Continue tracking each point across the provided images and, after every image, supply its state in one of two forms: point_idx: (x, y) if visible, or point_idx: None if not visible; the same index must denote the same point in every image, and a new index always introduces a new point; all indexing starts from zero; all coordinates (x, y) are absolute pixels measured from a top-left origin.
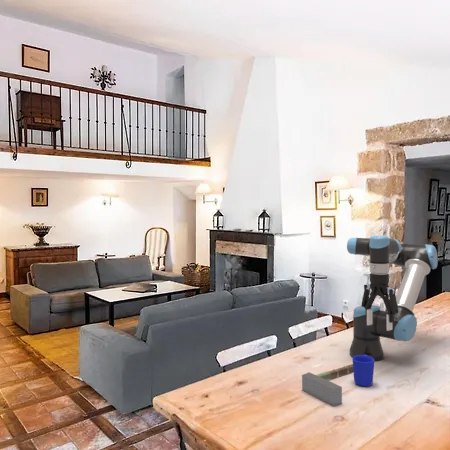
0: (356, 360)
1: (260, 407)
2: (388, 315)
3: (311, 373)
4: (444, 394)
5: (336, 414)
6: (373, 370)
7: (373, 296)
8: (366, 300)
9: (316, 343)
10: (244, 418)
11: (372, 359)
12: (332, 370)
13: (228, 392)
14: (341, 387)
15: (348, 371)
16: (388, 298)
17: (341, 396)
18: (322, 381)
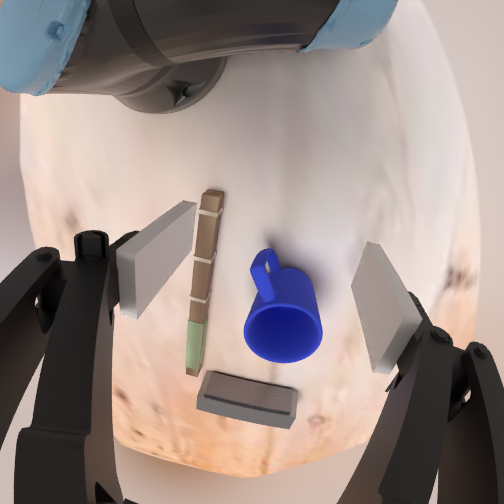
0: (253, 320)
1: (208, 437)
2: (390, 365)
3: (204, 398)
4: (477, 214)
5: (308, 416)
6: (317, 306)
7: (112, 474)
8: (31, 331)
9: (27, 105)
10: (217, 455)
11: (309, 315)
12: (191, 304)
13: (143, 421)
14: (295, 417)
15: (214, 255)
16: (421, 498)
17: (296, 402)
18: (249, 416)
